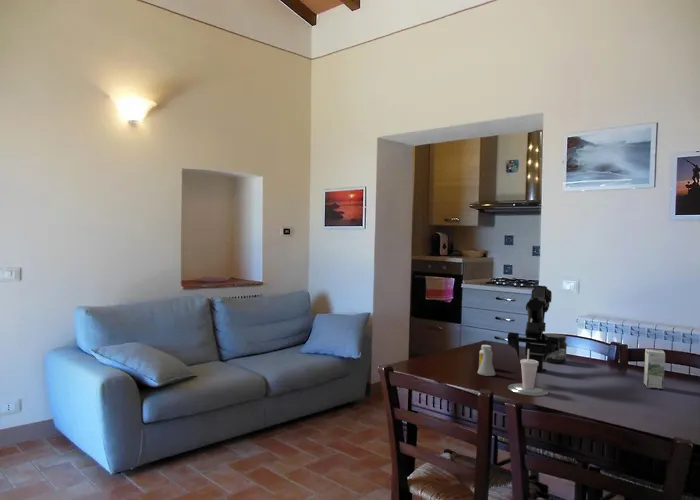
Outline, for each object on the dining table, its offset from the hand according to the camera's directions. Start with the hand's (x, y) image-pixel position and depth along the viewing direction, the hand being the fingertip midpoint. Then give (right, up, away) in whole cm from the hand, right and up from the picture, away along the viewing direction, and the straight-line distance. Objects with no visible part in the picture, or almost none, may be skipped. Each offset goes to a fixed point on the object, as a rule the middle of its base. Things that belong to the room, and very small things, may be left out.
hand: (530, 359), depth 194 cm
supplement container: (+25, -10, +42) cm, 50 cm away
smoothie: (-3, -9, -6) cm, 11 cm away
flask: (-13, -9, +15) cm, 22 cm away
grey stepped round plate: (-3, -10, -6) cm, 12 cm away
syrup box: (+49, -12, +4) cm, 50 cm away
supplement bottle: (-11, -9, +24) cm, 28 cm away
